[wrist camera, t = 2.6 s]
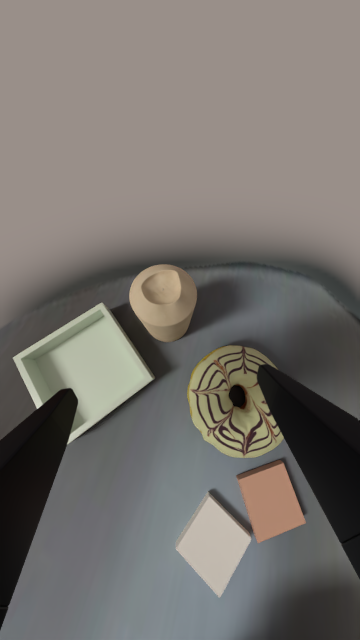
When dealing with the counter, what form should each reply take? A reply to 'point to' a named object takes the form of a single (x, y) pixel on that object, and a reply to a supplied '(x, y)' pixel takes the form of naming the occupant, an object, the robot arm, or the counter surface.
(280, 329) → the counter surface
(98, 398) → the tray
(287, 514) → the tile terracotta
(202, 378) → the decorated donut
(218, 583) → the tile white
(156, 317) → the candle
